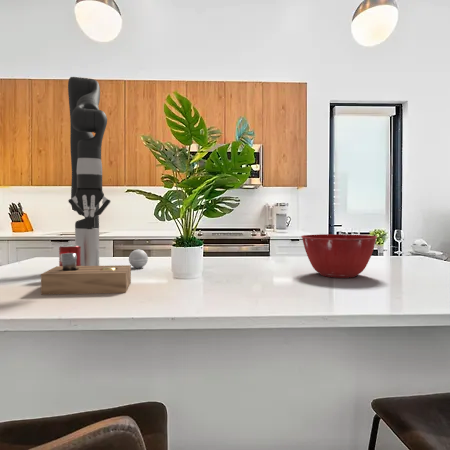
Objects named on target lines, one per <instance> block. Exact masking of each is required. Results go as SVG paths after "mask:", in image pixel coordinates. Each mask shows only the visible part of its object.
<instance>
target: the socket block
mask: <svg viewBox="0 0 450 450" xmlns="http://www.w3.org/2000/svg"><path fill="white" fill-rule="evenodd" d="M105 267H115V268H116V270H103V268H105ZM131 283H132V265H131V264H128V265H125V264H124V265H122V264H121V265H99V266H76V271H63V266H59V265H58V266H55V267H53V268H51V269H48V270H47V271H44V272H43V273H40V288H41V289H40V293H41V296H42V295H77V294H78V295H80V294H81V295H82V294H83V295H84V294H85V295H86V294H90V295H91V294H120V293H121V294H126V293H127V292H128V289H129V288H130V286H131Z"/></svg>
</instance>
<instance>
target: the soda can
mask: <svg viewBox="0 0 450 450" xmlns="http://www.w3.org/2000/svg"><path fill="white" fill-rule="evenodd" d="M64 253H76V266H81V246H80V245H75V244H63V245H59V246H58V262H59V263H58V266H63V260H62V254H64Z"/></svg>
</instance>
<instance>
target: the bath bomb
mask: <svg viewBox="0 0 450 450" xmlns="http://www.w3.org/2000/svg"><path fill="white" fill-rule="evenodd" d="M148 259H149V256H148V254H147V253H146V252H145V251H144V250H143V249H139V248H138V249H135V250H132V251H131V252H130V254H129V256H128V263H129V265H131V267H133V268H136V269H140V268H143V267H145V266H146V265H147V263H148Z"/></svg>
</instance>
